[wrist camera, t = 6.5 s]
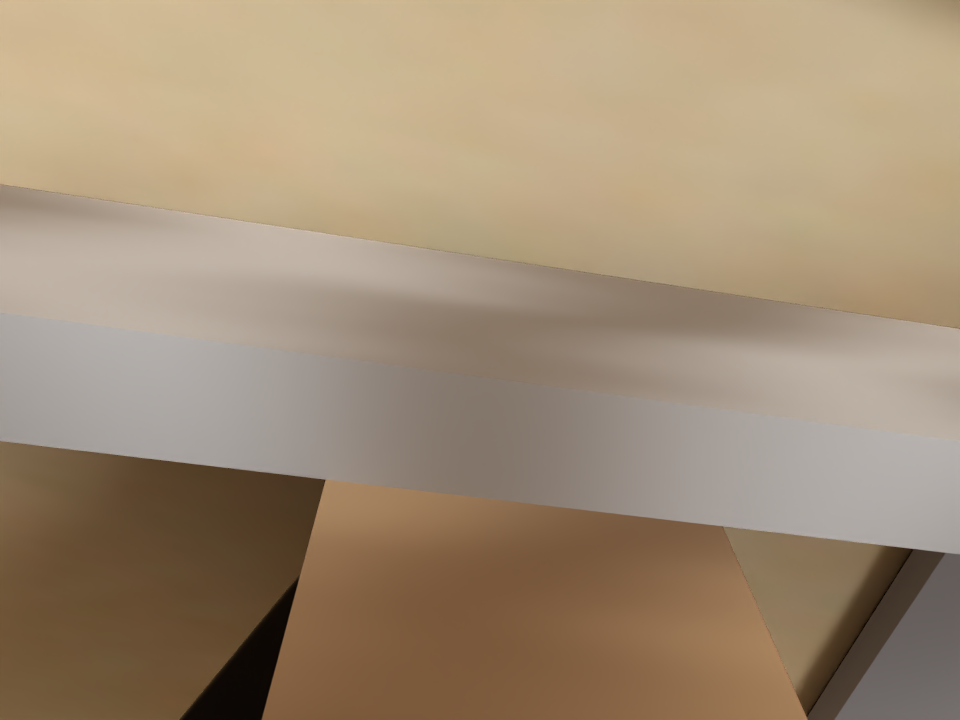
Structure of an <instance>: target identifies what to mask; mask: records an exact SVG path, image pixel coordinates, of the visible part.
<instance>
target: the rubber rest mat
mask: <svg viewBox="0 0 960 720" xmlns="http://www.w3.org/2000/svg"><path fill="white" fill-rule="evenodd" d="M807 719H808V720H960V554H953V553H944V552H936V551H927V550H919V549H914V550H913V551H912V553H911V555H910V556H909V558H908V559H907V561H906V562H905V564H904V566H903V567H902V569H901V570H900V572H899V573H898V575H897V577H896V578H895V580H894V581H893V583H892V584H891V586H890V588H889V589H888V591H887V592H886V594H885V595H884V597H883V599H882V600H881V602H880V603H879V605H878V606H877V608H876V610H875V611H874V613H873V614H872V616H871V617H870V619H869V621H868V622H867V624H866V625H865V627H864V629H863V630H862V632H861V633H860V635H859V636H858V638H857V640H856V641H855V643H854V644H853V646H852V647H851V649H850V651H849V652H848V654H847V655H846V657H845V658H844V660H843V662H842V663H841V665H840V666H839V668H838V669H837V671H836V673H835V674H834V676H833V677H832V679H831V680H830V682H829V684H828V685H827V687H826V688H825V690H824V691H823V693H822V695H821V696H820V698H819V699H818V701H817V702H816V704H815V706H814V707H813V709H812V710H811V712H810V713H809V715H808V717H807Z"/></svg>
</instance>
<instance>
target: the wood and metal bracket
mask: <svg viewBox="0 0 960 720" xmlns="http://www.w3.org/2000/svg"><path fill="white" fill-rule="evenodd" d="M0 441H3V442H12V443H20V444H29V445H37V446H46V447H54V448H63V449H71V450H80V451H88V452H97V453H105V454H114V455H122V456H131V457H139V458H148V459H156V460H164V461H173V462H181V463H190V464H198V465H207V466H215V467H224V468H232V469H241V470H249V471H258V472H266V473H275V474H283V475H292V476H300V477H309V478H317V479H326V480H325V484H324V488H323V492H322V495H321V499H320V503H319V507H318V510H317V514H316V518H315V522H314V525H313V529H312V533H311V537H310V540H309V544H308V548H307V552H306V555H305V559H304V563H303V567H302V570H301V574H300V578H299V582H298V585H297V589H296V593H295V597H294V600H293V604H292V608H291V612H290V615H289V619H288V623H287V627H286V631H285V634H284V638H283V642H282V646H281V649H280V653H279V657H278V661H277V664H276V668H275V672H274V676H273V679H272V683H271V687H270V691H269V694H268V698H267V702H266V706H265V709H264V713H263V717H262V720H808V719H807V717H806V715H805V712H804V710H803V708H802V706H801V703H800V701H799V699H798V697H797V694H796V692H795V690H794V688H793V685H792V683H791V681H790V678H789V676H788V674H787V672H786V669H785V667H784V665H783V663H782V660H781V658H780V656H779V653H778V651H777V649H776V647H775V644H774V642H773V640H772V638H771V635H770V633H769V631H768V629H767V626H766V624H765V622H764V619H763V617H762V615H761V613H760V610H759V608H758V606H757V604H756V601H755V599H754V597H753V594H752V592H751V590H750V588H749V585H748V583H747V581H746V579H745V576H744V574H743V572H742V570H741V567H740V565H739V563H738V560H737V558H736V556H735V554H734V551H733V549H732V547H731V545H730V542H729V540H728V538H727V535H726V533H725V531H724V529H723V526H724V527H732V528H741V529H749V530H758V531H766V532H775V533H783V534H792V535H800V536H809V537H817V538H826V539H834V540H843V541H851V542H860V543H868V544H877V545H885V546H894V547H902V548H911V549H919V550H927V551H936V552H944V553H953V554H960V329H958V328H951V327H945V326H938V325H931V324H925V323H918V322H912V321H905V320H898V319H892V318H885V317H878V316H872V315H865V314H858V313H852V312H845V311H838V310H832V309H825V308H818V307H812V306H805V305H799V304H792V303H785V302H779V301H772V300H765V299H759V298H752V297H745V296H739V295H732V294H725V293H719V292H712V291H705V290H699V289H692V288H686V287H679V286H672V285H666V284H659V283H652V282H646V281H639V280H632V279H626V278H619V277H612V276H606V275H599V274H593V273H586V272H579V271H573V270H566V269H559V268H553V267H546V266H539V265H533V264H526V263H519V262H513V261H506V260H499V259H493V258H486V257H480V256H473V255H466V254H460V253H453V252H446V251H440V250H433V249H426V248H420V247H413V246H406V245H400V244H393V243H386V242H380V241H373V240H367V239H360V238H353V237H347V236H340V235H333V234H327V233H320V232H313V231H307V230H300V229H293V228H287V227H280V226H273V225H267V224H260V223H254V222H247V221H240V220H234V219H227V218H220V217H214V216H207V215H200V214H194V213H187V212H180V211H174V210H167V209H161V208H154V207H147V206H141V205H134V204H127V203H121V202H114V201H107V200H101V199H94V198H87V197H81V196H74V195H67V194H61V193H54V192H48V191H41V190H34V189H28V188H21V187H14V186H8V185H1V184H0Z"/></svg>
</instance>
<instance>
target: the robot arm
mask: <svg viewBox="0 0 960 720" xmlns="http://www.w3.org/2000/svg"><path fill="white" fill-rule="evenodd" d="M299 578H300V575H299V576H298V577H297V578H296V580H295V581H294V582H293V583H292V584H291V586H290V587H289V588H288V589H287V590H286V592H285V593H284V594H283V595H282V597H281V598H280V599H279V600H278V601H277V603H276V604H275V605H274V606H273V607H272V609H271V610H270V611H269V612H268V613H267V615H266V616H265V617H264V618H263V619H262V621H261V622H260V623H259V624H258V625H257V627H256V628H255V629H254V630H253V631H252V633H251V634H250V635H249V636H248V638H247V639H246V640H245V641H244V642H243V644H242V645H241V646H240V647H239V648H238V650H237V651H236V652H235V653H234V654H233V656H232V657H231V658H230V659H229V660H228V662H227V663H226V664H225V665H224V666H223V668H222V669H221V670H220V671H219V672H218V674H217V675H216V676H215V677H214V678H213V680H212V681H211V682H210V683H209V685H208V686H207V687H206V688H205V689H204V691H203V692H202V693H201V694H200V695H199V697H198V698H197V699H196V700H195V701H194V703H193V704H192V705H191V706H190V707H189V709H188V710H187V711H186V712H185V713H184V715H183V716H182V717H181V718H180V719H179V720H262V717H263V713H264V709H265V706H266V702H267V698H268V694H269V691H270V687H271V683H272V679H273V676H274V672H275V668H276V664H277V661H278V657H279V653H280V649H281V646H282V642H283V638H284V634H285V631H286V627H287V623H288V619H289V615H290V612H291V608H292V604H293V600H294V597H295V593H296V589H297V585H298V582H299Z"/></svg>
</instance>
